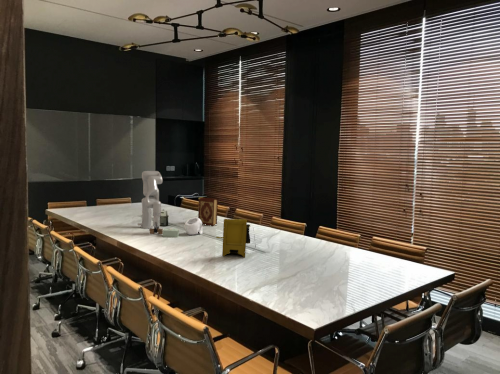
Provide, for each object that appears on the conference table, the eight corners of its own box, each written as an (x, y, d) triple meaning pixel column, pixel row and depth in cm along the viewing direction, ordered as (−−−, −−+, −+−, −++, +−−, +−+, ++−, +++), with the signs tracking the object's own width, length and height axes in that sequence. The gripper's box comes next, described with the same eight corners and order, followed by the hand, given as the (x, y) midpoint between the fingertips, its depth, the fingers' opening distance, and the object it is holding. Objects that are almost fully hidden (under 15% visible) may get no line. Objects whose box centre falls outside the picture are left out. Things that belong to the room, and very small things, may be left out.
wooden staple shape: (149, 234, 371) (149, 229, 371) (150, 233, 376) (150, 228, 376) (161, 234, 372) (162, 229, 372) (162, 233, 377) (162, 228, 377)
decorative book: (196, 223, 440) (197, 197, 438) (200, 223, 447) (201, 197, 445) (213, 226, 430) (214, 199, 427) (216, 225, 437) (218, 199, 434)
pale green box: (162, 236, 364) (162, 229, 363) (164, 234, 374) (164, 227, 373) (177, 237, 365) (177, 229, 364) (178, 235, 375) (179, 227, 374)
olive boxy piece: (254, 253, 316) (256, 217, 314) (255, 258, 302) (257, 220, 300) (216, 252, 315) (217, 215, 313) (215, 256, 301) (216, 218, 299)
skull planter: (208, 231, 389) (203, 215, 380) (195, 243, 375) (189, 227, 367) (199, 229, 397) (193, 214, 389) (186, 241, 384) (179, 225, 376)
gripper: (154, 213, 383) (153, 230, 384) (151, 215, 366) (150, 233, 367) (162, 213, 383) (161, 230, 385) (159, 215, 366) (158, 233, 367)
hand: (156, 231), depth 376 cm, fingers open, 9 cm apart
